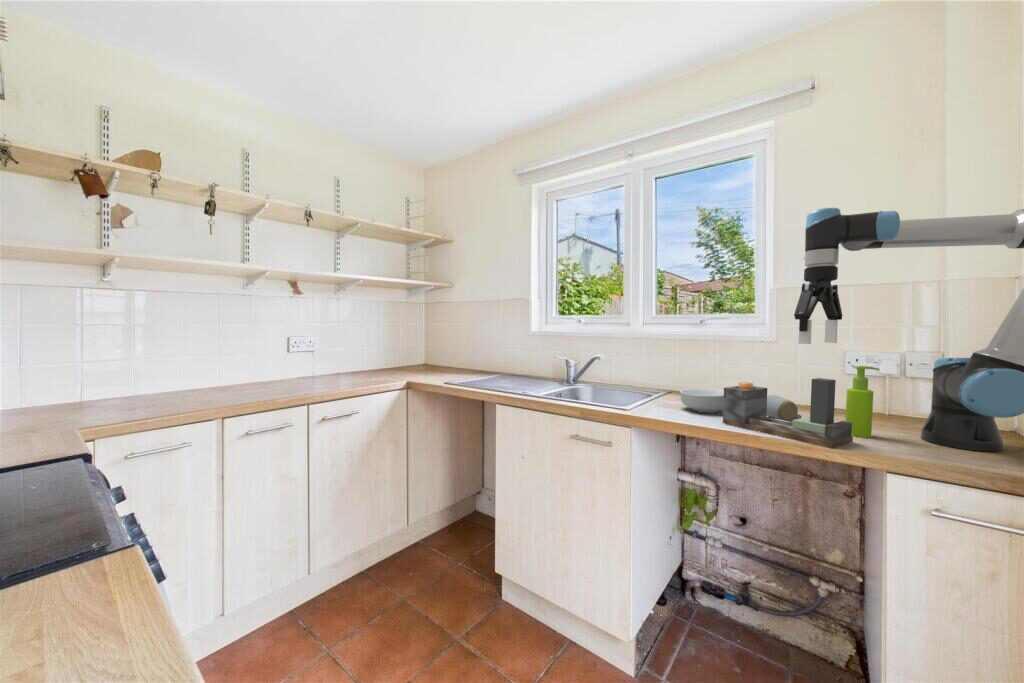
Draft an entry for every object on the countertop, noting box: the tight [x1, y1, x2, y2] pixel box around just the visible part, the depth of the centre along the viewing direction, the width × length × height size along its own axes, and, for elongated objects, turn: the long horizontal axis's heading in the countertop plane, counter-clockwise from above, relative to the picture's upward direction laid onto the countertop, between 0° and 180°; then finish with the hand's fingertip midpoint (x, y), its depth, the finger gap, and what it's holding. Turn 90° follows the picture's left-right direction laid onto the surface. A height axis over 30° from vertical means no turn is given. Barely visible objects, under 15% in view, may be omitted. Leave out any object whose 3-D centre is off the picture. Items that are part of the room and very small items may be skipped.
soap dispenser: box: [845, 365, 880, 439], centre depth 120 cm, size 6×7×20 cm
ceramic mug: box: [766, 394, 803, 422], centre depth 140 cm, size 11×8×8 cm
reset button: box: [738, 381, 754, 390], centre depth 134 cm, size 4×4×3 cm
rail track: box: [722, 385, 854, 449], centre depth 124 cm, size 30×12×12 cm, turn 30°
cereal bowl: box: [679, 388, 724, 414], centre depth 153 cm, size 17×17×7 cm
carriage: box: [791, 377, 837, 434], centre depth 116 cm, size 8×8×14 cm
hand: (817, 343), depth 117 cm, fingers open, 13 cm apart
